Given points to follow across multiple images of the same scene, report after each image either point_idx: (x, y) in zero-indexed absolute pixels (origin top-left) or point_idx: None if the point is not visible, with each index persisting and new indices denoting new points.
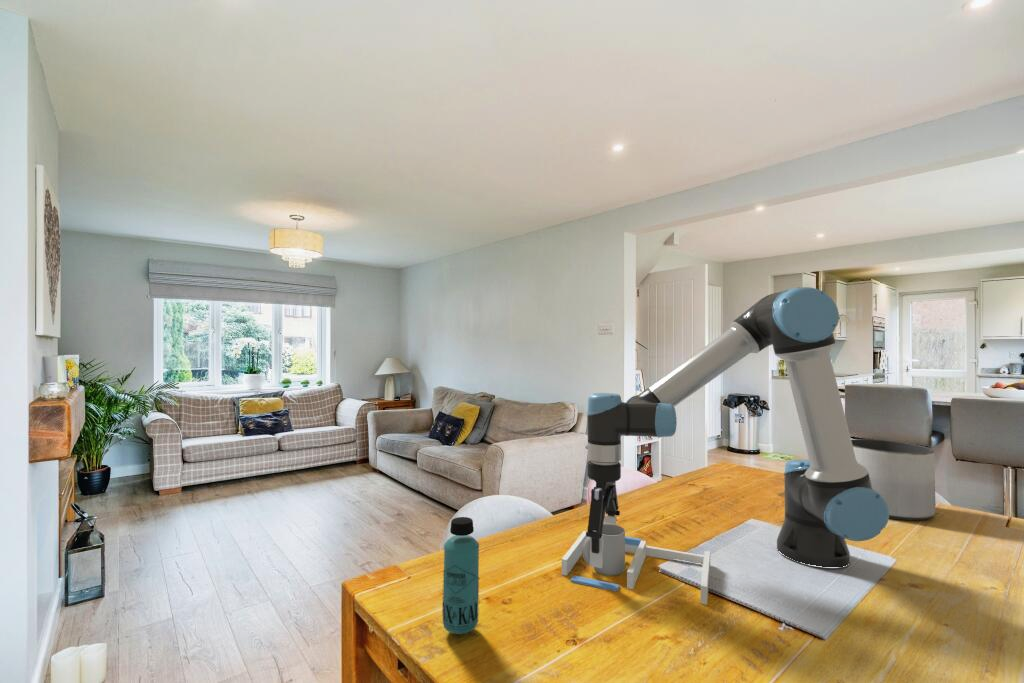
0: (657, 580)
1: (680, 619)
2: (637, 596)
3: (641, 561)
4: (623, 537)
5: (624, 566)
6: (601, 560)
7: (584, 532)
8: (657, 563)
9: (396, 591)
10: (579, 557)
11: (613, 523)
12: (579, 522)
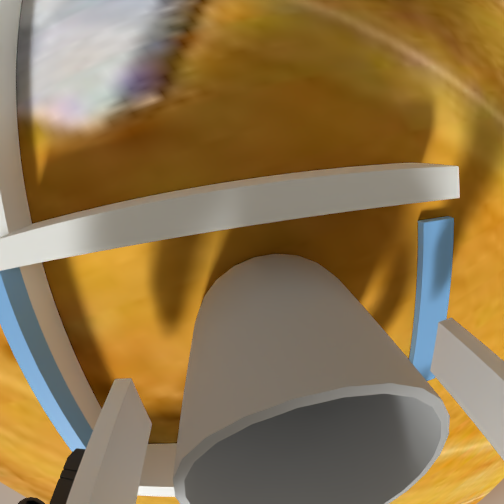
0: (265, 77)
1: (474, 3)
2: (445, 134)
3: (158, 196)
4: (346, 358)
5: (271, 259)
6: (471, 338)
7: None
8: (74, 142)
9: (483, 486)
10: None
11: (105, 484)
12: (20, 471)
